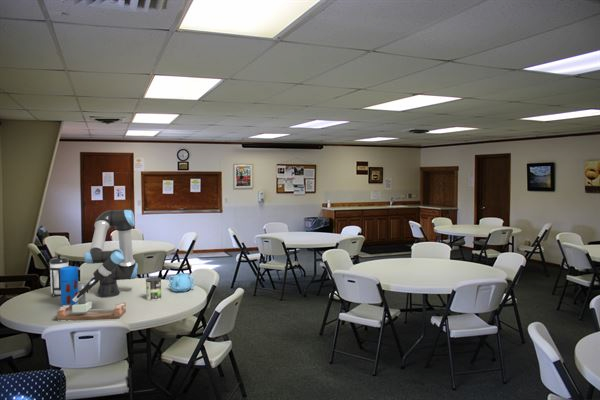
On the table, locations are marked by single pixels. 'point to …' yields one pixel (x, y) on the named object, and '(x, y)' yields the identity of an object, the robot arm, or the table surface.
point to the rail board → (92, 317)
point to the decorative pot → (181, 282)
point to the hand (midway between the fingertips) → (75, 299)
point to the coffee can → (153, 289)
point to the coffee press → (56, 273)
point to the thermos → (68, 284)
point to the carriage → (82, 302)
